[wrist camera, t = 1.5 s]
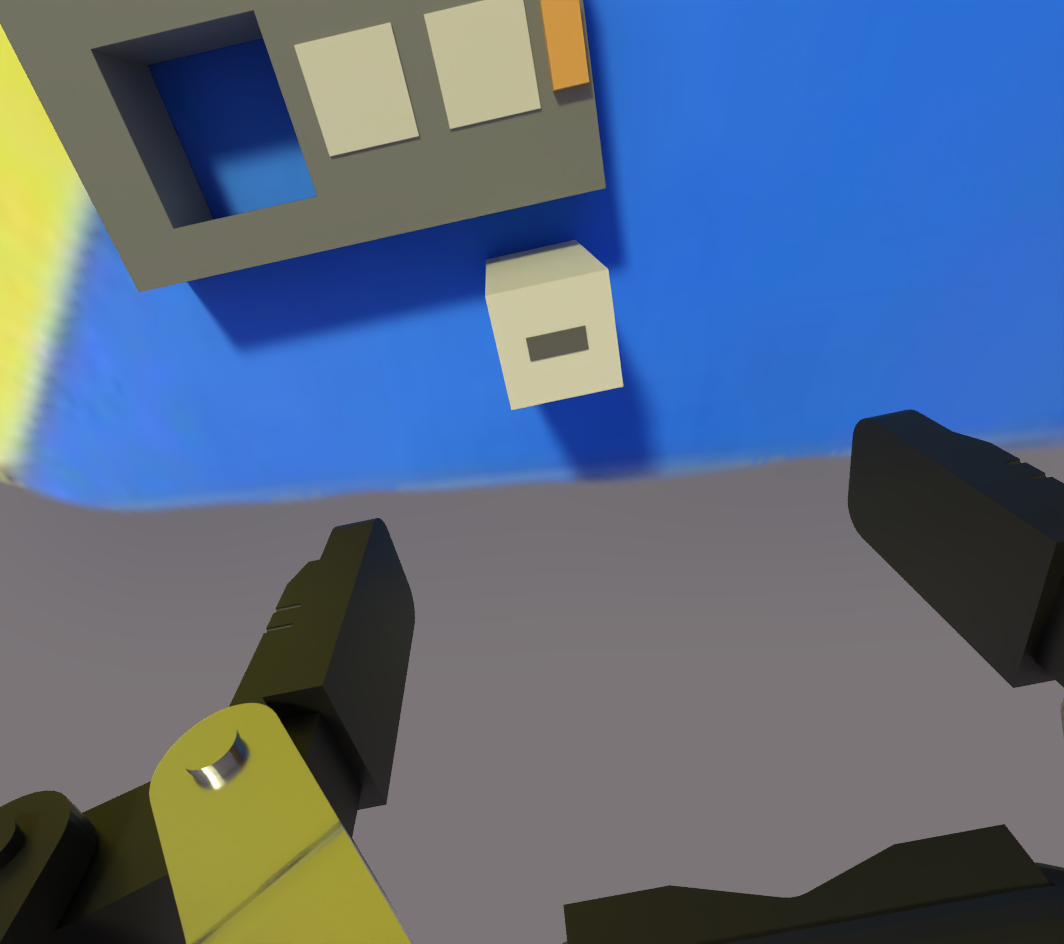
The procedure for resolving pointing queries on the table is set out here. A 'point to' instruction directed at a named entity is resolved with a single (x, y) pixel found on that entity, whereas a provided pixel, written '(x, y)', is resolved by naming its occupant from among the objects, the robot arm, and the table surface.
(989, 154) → the table surface
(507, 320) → the cream rectangular block
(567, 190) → the power strip
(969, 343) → the table surface
